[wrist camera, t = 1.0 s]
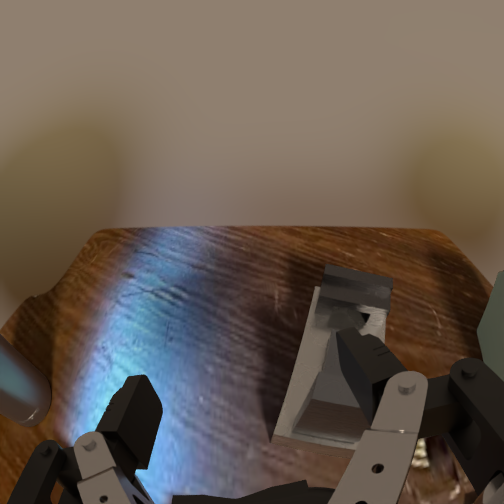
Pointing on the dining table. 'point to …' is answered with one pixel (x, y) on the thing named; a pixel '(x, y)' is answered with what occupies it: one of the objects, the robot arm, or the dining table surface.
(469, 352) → the dining table surface
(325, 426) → the dark grey tapered block
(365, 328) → the white rectangular holder
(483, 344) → the mint hexagonal prism
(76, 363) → the dining table surface
